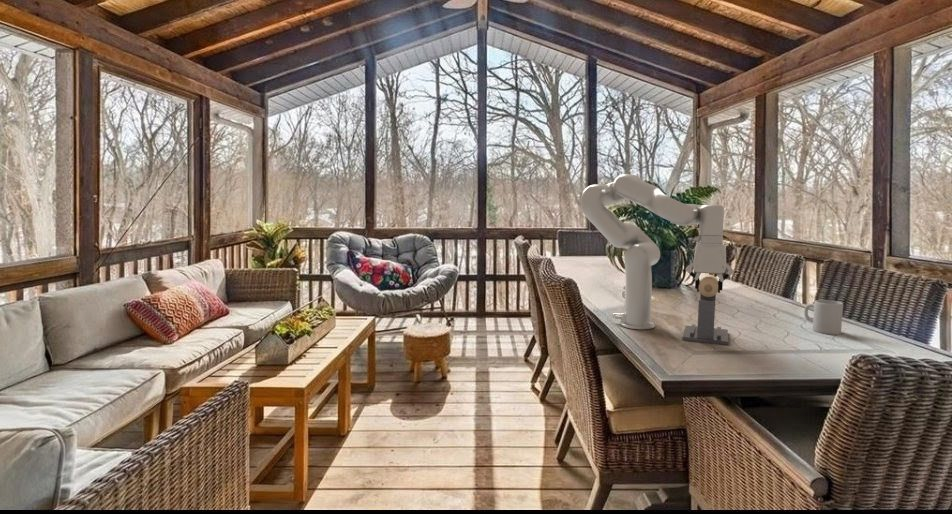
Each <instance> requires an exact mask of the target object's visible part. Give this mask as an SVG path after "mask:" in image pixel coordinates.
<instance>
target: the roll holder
mask: <svg viewBox="0 0 952 514" xmlns="http://www.w3.org/2000/svg"><path fill="white" fill-rule="evenodd" d="M716 295H717V293H716V294H715V295H714V296H712V297H705V296H703V295H702V294H701V293H700V295H699V296H700V298H699V299H698V312H697V313H698V314H697V325H696V324H694V323H693V324H691V325H685V327H684V332H683V334H682V341H686V342H687V341H688V342H696V343H706V344H712V345H713V344H715V345H722V344H723V345H724V346H729V330H728V329H724V328H722V326H717V327H715V317H716V314H715V313H716V297H717V296H716Z"/></svg>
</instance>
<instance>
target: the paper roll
mask: <svg viewBox="0 0 952 514" xmlns="http://www.w3.org/2000/svg"><path fill="white" fill-rule="evenodd" d="M699 280H700V284H699V293H700V294H702V295H703V296H705V297H712V296H714V295H715V294H716V295H717V294H718V281H719V279H718V278H717V277H716V276H714V275H713V274H706V275H703V276H702V277H701V279H699Z"/></svg>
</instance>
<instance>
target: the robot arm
mask: <svg viewBox="0 0 952 514" xmlns="http://www.w3.org/2000/svg"><path fill="white" fill-rule="evenodd" d="M625 200H628V201H631V202H633V203H634V204H637V205H639V206H640V207H643V208H645V209H647V210H648V211H649V212H651V213H653V214H655V215H656V216H658V217H660V218H662V219H665V220H666V221H669V222H671V223H673V224H675V225H678V226H681V227H686V226H695V225H699V226H698V229H699V230H698V236H697V235H696V236H694V238H693V239H694V241H696V242H698V243H696V244H695V249H694V253H693V262H691V263H690V264H689V265H687V266H686V267H685V271H686V272H687V273H688V275H690V276H691V278H693V279H694V281H695V283H694V289H695V290H696V292H699V284H700V280H701V279H700V277H701V274H710V275H713V274H715V275H717V276H718V292H717V294H720V293H721V291H723V286H724V285H723V284H724V282H725V280H727V279H728V278H729V277H730V276H731V275H733V274H734V273H735V270H734V268H732V267H731V266H730V265H729V264H728V263H727V251H726V250H727V249H726V245H725V244H724V243H723V242H724V240H723V238H724V222H725V220H724V219H725V208H724V206H723V205H722V204H715V203H714V204H695V203H683V202H681V201H679V200H677V199H675V198H672V197H670V196H668V195H667V194H665V193H664V192H663V191H662V190H661V188H659V187H658V186H656V185H653V184H651V183H648V182H647V181H644V180H642V179H641V177H640V176H638V175H636V174H631V173H630V174H629V173H623V174H620V175H618V176H617V177H615V178H614V181H613V182H612V181H611V182H609V183H607V184H600V183H599V184H597V183H594V184H591V185H589V186H587V187H586V188H585V189H584V190H583V191H582V194H581V196H580V207H581V211H582V212H583V214H584V216H585V217H586V218H587V220H588V221H589V222H590V223H591V224H592V225H593V226H594V227H595V228H596V229H597V231H598V232H599V233H601V235H602V236H603V237H604V238H605V239H606V240H607V241H608V243H610V244H611V245H612V246H613V247H614V248H617V249H623V248H625V249H626V251H625V253H624V258H623V259H624V261H623V262H624V268H625V292H624V293H625V294H624V295H625V296H624V299H625V300H624V312H622V313H619V312H613V313H612V318H613V319H615V320H620V321H619V324H620V326H621V327H624V328H626V329H632V330H651V329H654V328H655V326H656V325H655V323H654V322H653V321H652V320H651V316H652V315H651V314H652V313H651V312H652V291H653V277H652V275H653V274H652V267H651V266H654V265H656V264H657V263H658V262H659V261H660V258H661V251H660V248H659V247H658V245H657V244H656V243H655V242H654V241H653V240H652V239H651V238H650V237H649V236H648V234H646V233H645V232H644V231H643V230H642V229H641V228H640V227H639V226H637V225H635V224H634V223H631V222H630V223H629V222H623V221H622V220H620V219H619V218H618V216H617V215H615V214H614V213H613V211H611V210H610V209H609V208H607V207H606V206H611V205H614V204H616V203H620V202H623V201H625ZM692 268H693V271H692ZM726 270H727V273H726ZM699 293H700V292H699Z"/></svg>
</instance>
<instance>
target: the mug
mask: <svg viewBox="0 0 952 514" xmlns="http://www.w3.org/2000/svg"><path fill="white" fill-rule="evenodd" d="M810 308H812V309H813V310H814V311H813V317H812V316H809V309H810ZM843 312H844V303H843V302H841V301H836V300H830V299H816V300H814V303H808V304H806V305H805V308H804V313H803V314H804V318H805V320H806V321H808V322H810V323H811V322H812V331H813V332H815V333H818V334H819V333H820V334H824V335H830V336H831V335H835V336H836V335H837V336H838V335H840V334H841V333H842V323H843Z"/></svg>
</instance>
